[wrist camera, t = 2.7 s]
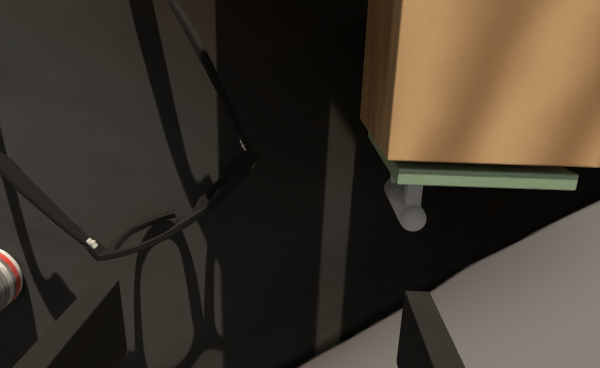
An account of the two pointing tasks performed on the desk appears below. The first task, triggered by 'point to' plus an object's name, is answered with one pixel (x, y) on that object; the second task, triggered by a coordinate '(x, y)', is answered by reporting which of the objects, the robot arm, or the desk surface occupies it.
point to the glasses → (99, 252)
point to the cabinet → (484, 81)
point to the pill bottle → (9, 279)
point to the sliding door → (461, 182)
